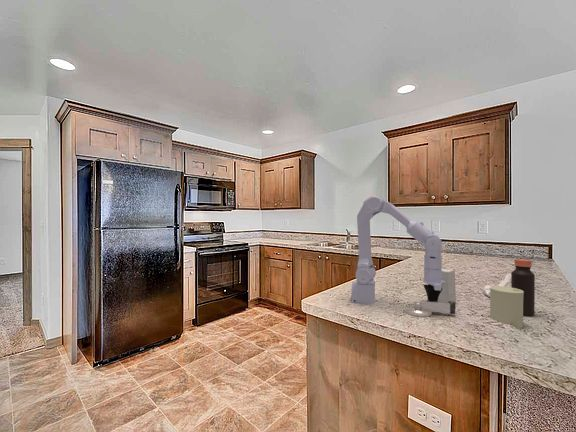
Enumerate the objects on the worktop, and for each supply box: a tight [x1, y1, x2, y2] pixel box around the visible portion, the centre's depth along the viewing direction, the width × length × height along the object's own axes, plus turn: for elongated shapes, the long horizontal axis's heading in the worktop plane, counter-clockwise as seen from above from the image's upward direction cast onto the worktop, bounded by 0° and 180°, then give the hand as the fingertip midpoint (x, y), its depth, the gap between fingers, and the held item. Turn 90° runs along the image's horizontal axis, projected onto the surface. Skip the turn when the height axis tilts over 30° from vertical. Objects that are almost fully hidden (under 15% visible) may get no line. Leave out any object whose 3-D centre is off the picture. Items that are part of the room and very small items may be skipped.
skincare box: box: [438, 268, 457, 305], centre depth 115 cm, size 8×6×15 cm
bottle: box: [510, 258, 536, 317], centre depth 107 cm, size 7×7×20 cm
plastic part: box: [482, 271, 512, 298], centre depth 129 cm, size 8×10×12 cm
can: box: [489, 285, 525, 329], centre depth 97 cm, size 9×9×12 cm
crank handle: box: [403, 299, 456, 318], centre depth 102 cm, size 17×9×5 cm, turn 76°
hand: (432, 305), depth 104 cm, fingers closed
